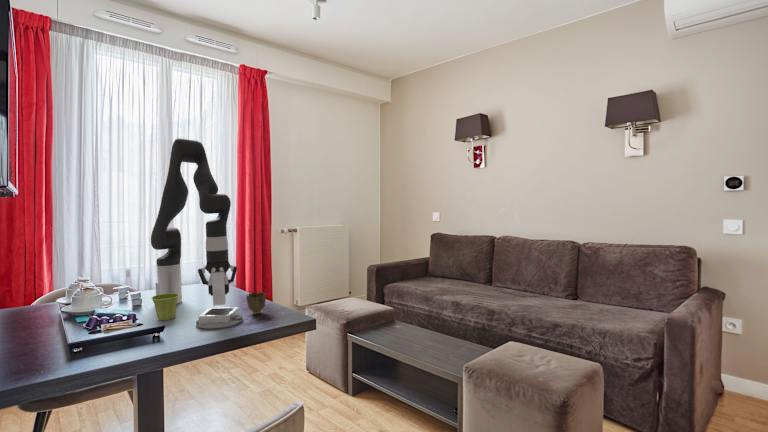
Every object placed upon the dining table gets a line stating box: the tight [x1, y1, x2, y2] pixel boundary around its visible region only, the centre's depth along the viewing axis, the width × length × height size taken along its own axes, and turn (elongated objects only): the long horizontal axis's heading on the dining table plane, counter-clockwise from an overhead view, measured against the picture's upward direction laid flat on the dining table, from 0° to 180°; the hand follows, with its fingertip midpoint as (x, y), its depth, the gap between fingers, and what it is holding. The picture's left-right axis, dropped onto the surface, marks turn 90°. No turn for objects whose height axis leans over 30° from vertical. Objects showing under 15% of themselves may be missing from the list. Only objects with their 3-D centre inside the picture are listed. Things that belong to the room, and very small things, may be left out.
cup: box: [245, 291, 267, 316], centre depth 163 cm, size 8×7×8 cm
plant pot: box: [151, 293, 179, 321], centre depth 160 cm, size 9×9×9 cm
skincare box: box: [212, 272, 227, 307], centre depth 153 cm, size 6×4×12 cm
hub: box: [195, 306, 244, 331], centre depth 153 cm, size 16×16×4 cm
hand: (219, 294), depth 153 cm, fingers closed on skincare box, 4 cm apart
